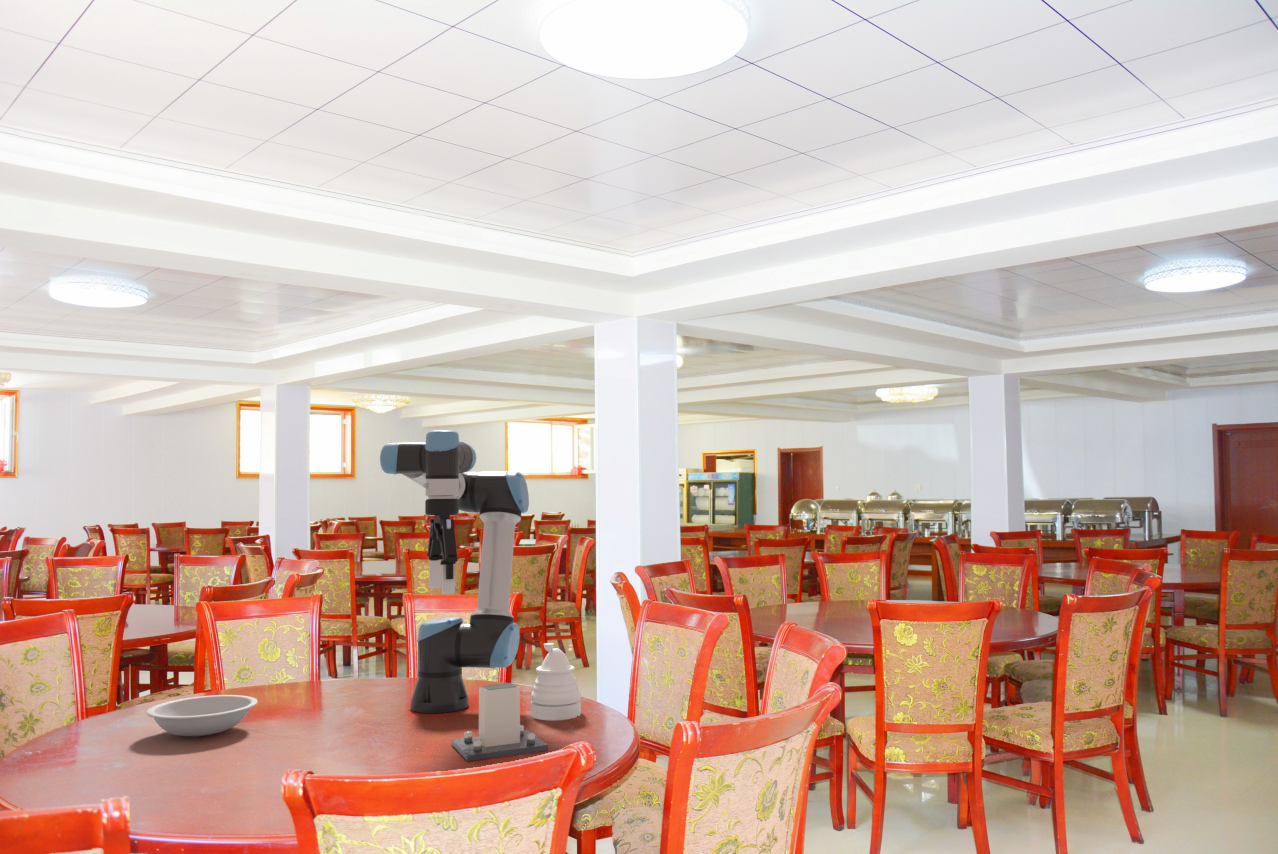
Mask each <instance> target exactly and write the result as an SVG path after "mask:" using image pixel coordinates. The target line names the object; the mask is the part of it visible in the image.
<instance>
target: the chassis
mask: <svg viewBox="0 0 1278 854" xmlns="http://www.w3.org/2000/svg"><path fill="white" fill-rule="evenodd" d="M451 746H452V747H453V748H454V749H455V750H456V751H457V752H458V753H459V755H461V757H463V759H465V760H466V761H467V762H472V761H478V760H481V761H482V760H487V759H495V758H501V757H509V756H516V755H525V754H532V753H539V752H546V751H547V752H548V751H549V744H548V743H546V742H545V741H544V740H543V739H541V738H540V737H539V736H537V735H536V734H535V733H534V732H532V731H530V730H527V729H526V730H525V726H524V725H523V724H520V743H514V744H506V745H498V746H490V747H484V746H483V745H482V740H479V735H478V736H473V731H471V730H467V731H463V737H461V738H456V739H455V738H454V739H451Z"/></svg>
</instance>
